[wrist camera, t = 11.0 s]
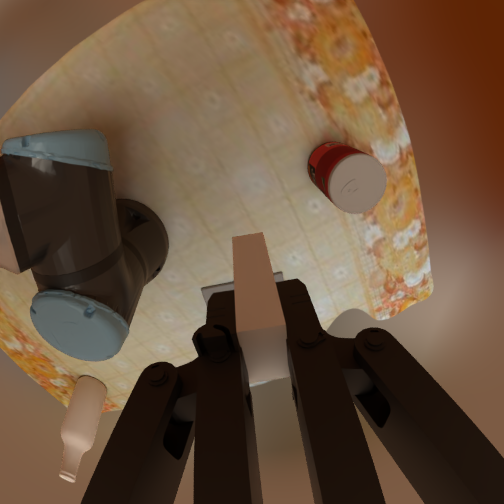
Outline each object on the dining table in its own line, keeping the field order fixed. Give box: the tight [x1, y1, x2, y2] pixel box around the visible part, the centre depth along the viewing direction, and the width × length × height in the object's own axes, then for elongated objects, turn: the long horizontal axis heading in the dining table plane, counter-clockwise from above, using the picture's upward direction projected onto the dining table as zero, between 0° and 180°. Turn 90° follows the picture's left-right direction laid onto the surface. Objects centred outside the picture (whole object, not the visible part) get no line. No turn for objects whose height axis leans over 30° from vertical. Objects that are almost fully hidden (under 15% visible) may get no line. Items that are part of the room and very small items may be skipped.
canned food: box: [308, 142, 387, 214], centre depth 38 cm, size 8×8×11 cm
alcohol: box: [59, 376, 107, 482], centre depth 52 cm, size 9×9×30 cm
